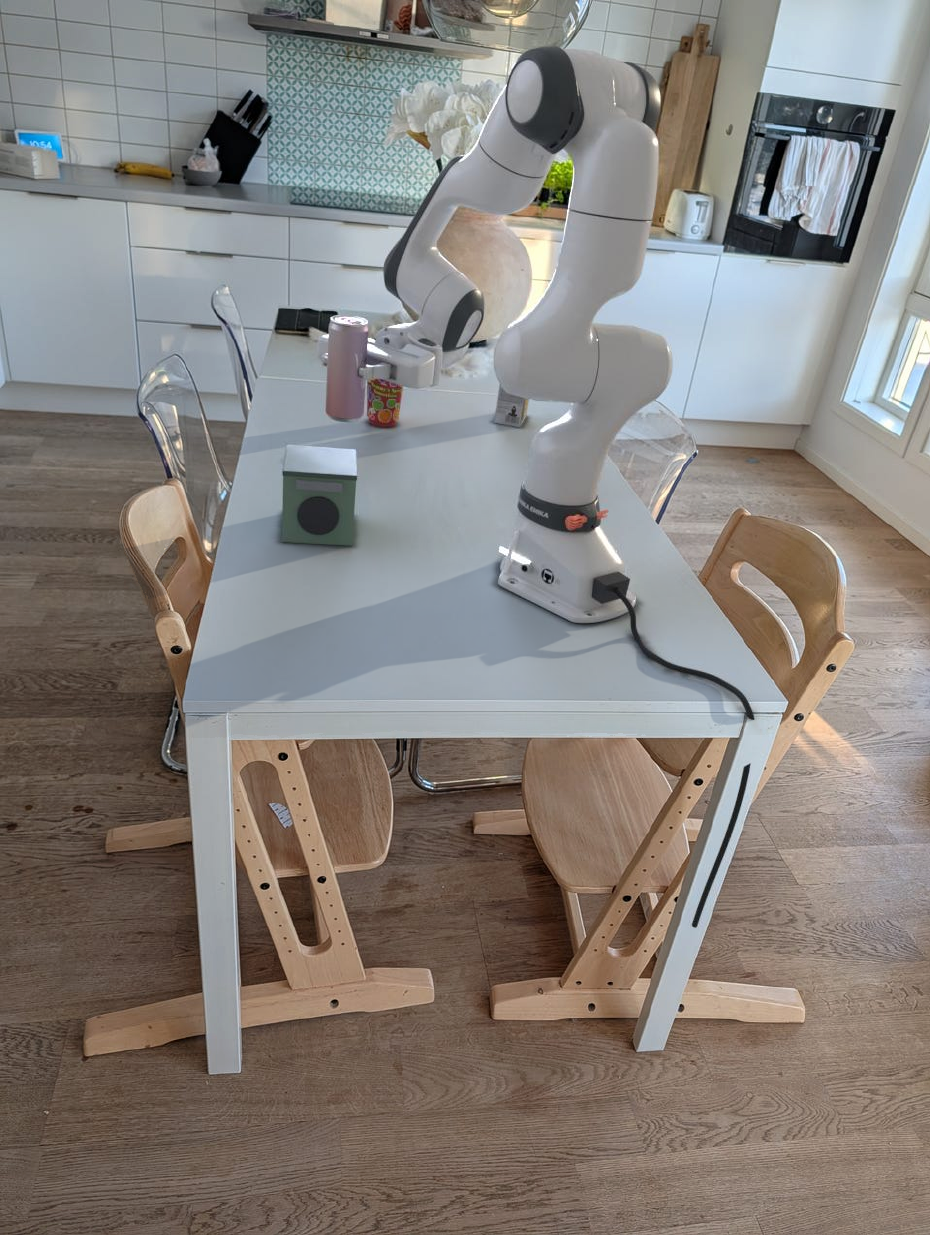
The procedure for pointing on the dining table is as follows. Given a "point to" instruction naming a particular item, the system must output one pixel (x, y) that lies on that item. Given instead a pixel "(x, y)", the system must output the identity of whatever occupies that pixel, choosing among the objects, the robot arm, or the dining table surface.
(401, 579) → the dining table surface
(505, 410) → the coffee box
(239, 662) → the dining table surface
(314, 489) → the washer stand
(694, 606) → the dining table surface
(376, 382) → the smoothie
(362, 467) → the dining table surface
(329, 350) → the beverage can
